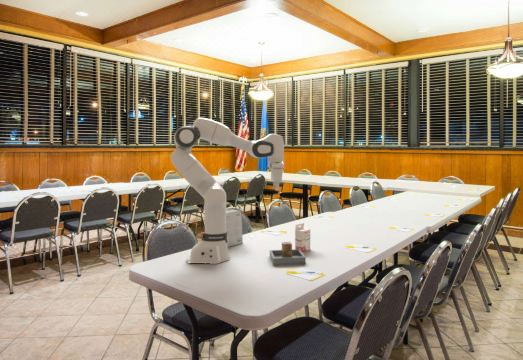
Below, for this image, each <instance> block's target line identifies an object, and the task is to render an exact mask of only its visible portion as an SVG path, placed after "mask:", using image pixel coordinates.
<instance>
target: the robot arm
mask: <svg viewBox="0 0 523 360" xmlns="http://www.w3.org/2000/svg"><path fill="white" fill-rule="evenodd" d="M199 140H204V141H207V142H208V143H212V144H215V145H219V146H229V147H234V148H236V149H237V150H238V149H239V150H242V151H243V152H245V153H246V154H247V155H248V156H249V157H251V158H253V159H264V158H267V168H269V169H270V180H271V181H272V185H273V186H272V188H273V189H274V190H275V191H276V192H278V191H279V190H280V183H282V181H283V170H284V168H285V157H284V154H285V153H284V152H285V143H284V138H283V136H282V135H281V134H277V133H268V135H266V136H265V137H263V138H260V139H255V140H249V139H246V138H244V137H241V136H239V135H236V134H235V133H233V131H232V130H231V129H230V127H228V126H226V125H225V124H223V123H221V122H219V121H217V120H216V121H215V120H213V119H210V118H205V117H198V118H196V119H195V120H194V121H193V124H192V125H191V124H190V125H185V126H181V127H179V128H178V129H177V130H176V131H175V133H174V135H173V144H174V147H175V149H174V150H173V152H172V153H171V154H170V162H171V163H172V165H173V166H174V167H175V169H176V170H177V172H178V173H179V174H180V175H181V176H182V178H184V179H185V180H186V181H187V183H188V184H189V185H190V186H191V188H193V189H194V190H195V191H196V192H197V193H198V194H199V195H200V196H201V197H202V198H203V200H204V202H203V203H204V231H201V233H200V237H201V238H200V239H201V240H199V241H198V242H197V243H196V244H194V246H193V247H192V248H191V250H190V255H188V256H187V257H186V263H187V262H190V263H205V265H206V263H210V264H209V265H215V264H216V265H217V264H221V263H223V262H227V261H229V260H231V256H230V252H229V247H228V246H227V241H228V234H227V231H226V211H227V193H226V191H225V189H224V188H223V186H222V185H220V183H219V182H218V180H216V179H215V178H214V177H213V176H212V175H211V173H210V172H209V171H208V170H207V169H206V168H205V167H204V166H203V165H202V163H201V162H200V161H199V159H197V158H196V157H195V156H194V154H193V153H192V151H191V150H192V148H193V147H194V146H195V144H196V143H197V141H199ZM190 263H189V264H190Z"/></svg>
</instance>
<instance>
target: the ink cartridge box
mask: <svg viewBox="0 0 523 360" xmlns="http://www.w3.org/2000/svg"><path fill="white" fill-rule="evenodd" d="M294 235H295V238H294V239H295V240H294V242H295V243H294V245H295V247H294V249H300V250H301V252H302V253H304V252H307V251H309V250H311V228H305V223H304V222H302V223H299V224H295V230H294Z"/></svg>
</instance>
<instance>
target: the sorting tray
mask: <svg viewBox="0 0 523 360" xmlns="http://www.w3.org/2000/svg"><path fill="white" fill-rule="evenodd" d="M306 258H307V257H306V256H305V254H304V252H301V250H300V249H295V248H294V249H293V248H292V257H284V258H282V249H270V250H269V259H270V260H271V261H270V262H271V264H272V266H273V267H274V266H292V265H293V266H295V265H306Z"/></svg>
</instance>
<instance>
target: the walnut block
mask: <svg viewBox="0 0 523 360" xmlns="http://www.w3.org/2000/svg"><path fill="white" fill-rule="evenodd" d="M292 249H293V243H292V242H291V241H282V242H281V250H282V258H284V257H292Z"/></svg>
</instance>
